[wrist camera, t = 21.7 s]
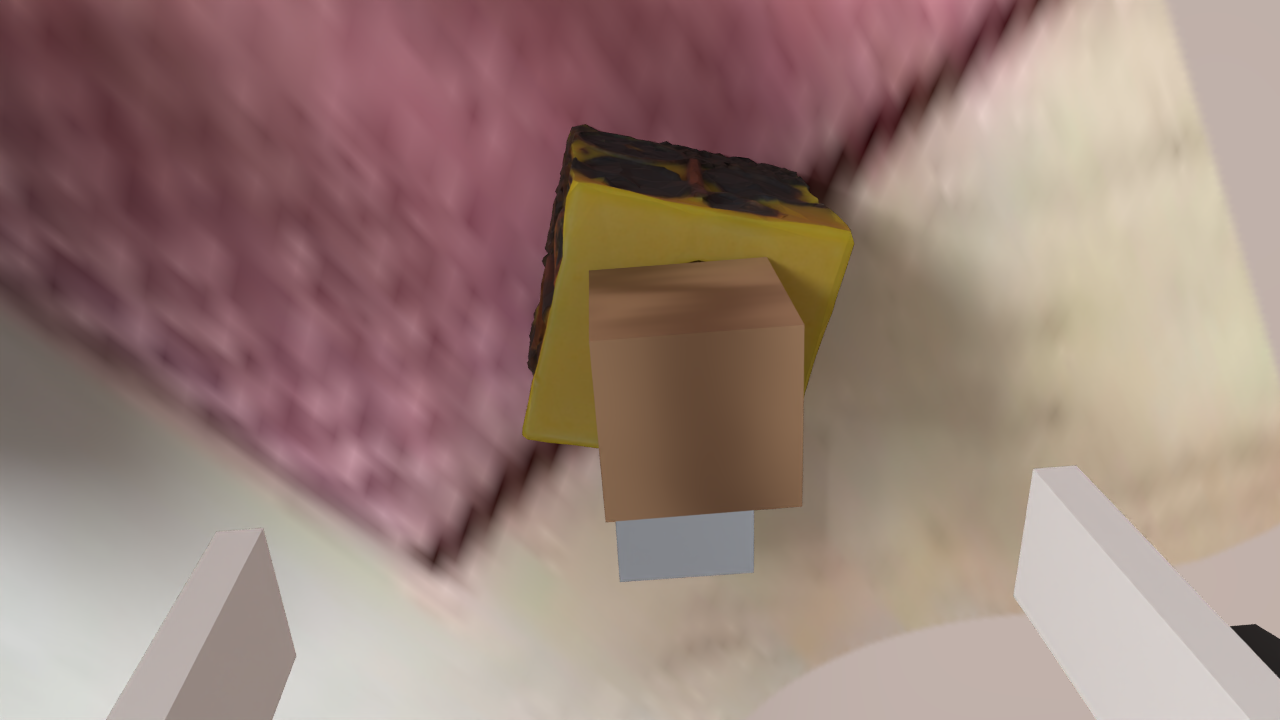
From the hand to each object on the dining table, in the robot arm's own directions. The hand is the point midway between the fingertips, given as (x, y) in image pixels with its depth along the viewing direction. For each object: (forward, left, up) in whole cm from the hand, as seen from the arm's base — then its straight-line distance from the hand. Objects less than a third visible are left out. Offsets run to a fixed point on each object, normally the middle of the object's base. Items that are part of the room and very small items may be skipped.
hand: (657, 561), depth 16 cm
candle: (+2, -3, -27) cm, 27 cm away
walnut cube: (+2, -3, -17) cm, 17 cm away
